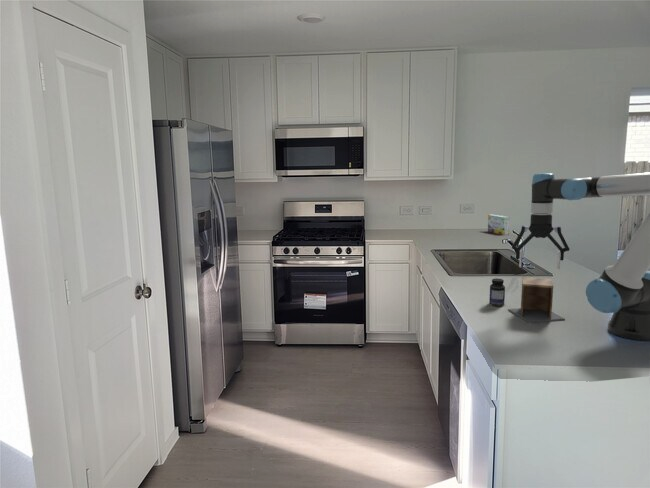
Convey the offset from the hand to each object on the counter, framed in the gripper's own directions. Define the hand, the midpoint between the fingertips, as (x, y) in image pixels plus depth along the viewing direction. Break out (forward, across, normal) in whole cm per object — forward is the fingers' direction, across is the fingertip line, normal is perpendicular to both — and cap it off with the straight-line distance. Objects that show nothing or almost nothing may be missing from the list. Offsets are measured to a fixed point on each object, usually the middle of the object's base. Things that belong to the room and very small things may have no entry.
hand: (539, 267), depth 179 cm
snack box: (+18, +22, -212) cm, 214 cm away
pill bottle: (+20, +15, -10) cm, 27 cm away
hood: (+19, 0, 0) cm, 19 cm away
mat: (+20, 0, 0) cm, 20 cm away
